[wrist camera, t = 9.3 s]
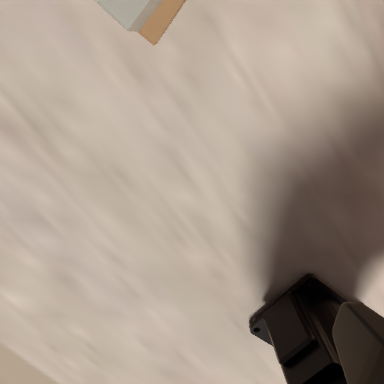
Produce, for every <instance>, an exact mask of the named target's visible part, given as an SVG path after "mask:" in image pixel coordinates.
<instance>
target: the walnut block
mask: <svg viewBox="0 0 384 384" xmlns="http://www.w3.org/2000/svg"><path fill="white" fill-rule="evenodd" d="M185 1H186V0H162V1H161V3H160V4H159V5H158V7H157V8H156V9H155V11H154V12H153V13H152V15H151V16H150V17H149V19H148V20H147V21H146V23H145V24H144V25H143V27H142V28H141V29H140V31H139V32H138V33H139V34H140V35H142V36H143V37H144V38H145V39H147V40H148V41H149V42H150V43H151V44H153V45H156V44H157V43H158V41H159V40H160V38H161V37H162V35H163V34H164V32H165V31H166V29H167V28H168V26H169V25H170V23H171V22H172V20H173V19H174V17H175V16H176V14H177V13H178V11H179V10H180V9H181V7H182V6H183V4H184V3H185Z"/></svg>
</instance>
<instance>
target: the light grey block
mask: <svg viewBox="0 0 384 384" xmlns="http://www.w3.org/2000/svg"><path fill="white" fill-rule="evenodd" d="M94 1H96V2H97V3H98V4H99V5H100V6H101V7H102V8H103V9H104V10H105V11H106V12H107V13H108V14H110V15H111V16H112V17H113V18H114V19H115V20H116V21H117V22H118V23H119V24H120V25H121V26H123V27H124V28H125V29H126V30H127V31H134V32H139V31H140V29H141V28H142V27H143V25H144V24H145V23H146V21H147V20H148V19H149V17H150V16H151V15H152V13H153V12H154V11H155V9H156V8H157V7H158V5H159V4H160V3H161V1H162V0H94Z"/></svg>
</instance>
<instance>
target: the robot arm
mask: <svg viewBox="0 0 384 384" xmlns="http://www.w3.org/2000/svg"><path fill="white" fill-rule="evenodd" d="M311 280H312V281H311ZM309 281H311V282H309ZM249 328H250V331H251V333H252V334H253V335H255V336H257V337H258V338H260V339H262V340H263V341H265V342H267V343H268V344H270V345H272V346H273V347H274V350H275V353H276V356H277V359H278V362H279V364H280V365H281V368H282V371H283V373H284V376H285V379H286V382H287V384H384V318H383V317H382V316H380V315H379V314H378V313H376V312H375V311H373V310H372V309H370V308H369V307H367V306H366V305H364V304H363V303H359V302H351V301H350V300H348V299H347V298H346V297H344V296H343V295H341V294H340V293H339V292H337V291H336V290H335V289H333V288H332V287H331V286H329V285H328V284H327V283H325V282H324V281H323V280H321V279H320V278H318V277H317V276H316V275H314V274H307V275H306V276H304V277H303V278H302V279H301V280H300V281H299V282H297V283H296V284H295V285H294V286H293V287H292V288H290V289H289V290H288V291H287V292H286V293H285V294H284V295H282V296H281V297H280V298H279V299H278V300H277V301H276V302H274V303H273V304H272V305H271V306H270V307H269V308H267V309H266V310H265V311H264V312H263V313H262V314H261V315H259V316H258V317H257V318H256V319H255V320H254V321H252V322H251V323H250V325H249Z"/></svg>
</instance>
